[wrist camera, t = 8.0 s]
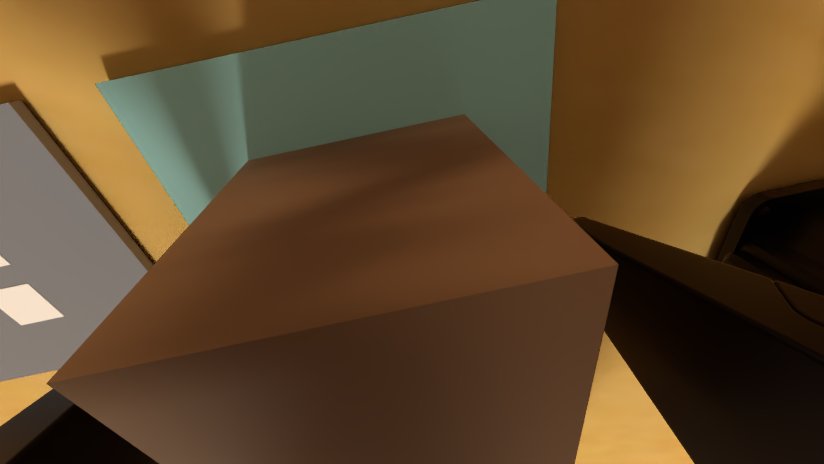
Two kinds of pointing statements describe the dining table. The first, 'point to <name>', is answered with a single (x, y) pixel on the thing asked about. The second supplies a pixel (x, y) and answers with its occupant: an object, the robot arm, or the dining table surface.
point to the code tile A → (53, 251)
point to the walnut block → (360, 315)
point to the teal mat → (346, 93)
